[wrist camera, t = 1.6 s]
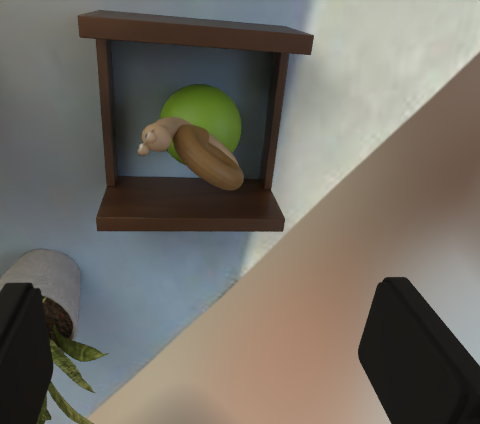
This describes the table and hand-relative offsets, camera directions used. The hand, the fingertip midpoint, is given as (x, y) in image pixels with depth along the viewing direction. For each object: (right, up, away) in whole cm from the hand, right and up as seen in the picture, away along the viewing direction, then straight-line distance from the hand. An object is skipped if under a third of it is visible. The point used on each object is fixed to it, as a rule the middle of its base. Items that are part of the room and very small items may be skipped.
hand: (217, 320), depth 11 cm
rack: (-3, +10, +18) cm, 21 cm away
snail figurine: (-3, +10, +18) cm, 21 cm away
